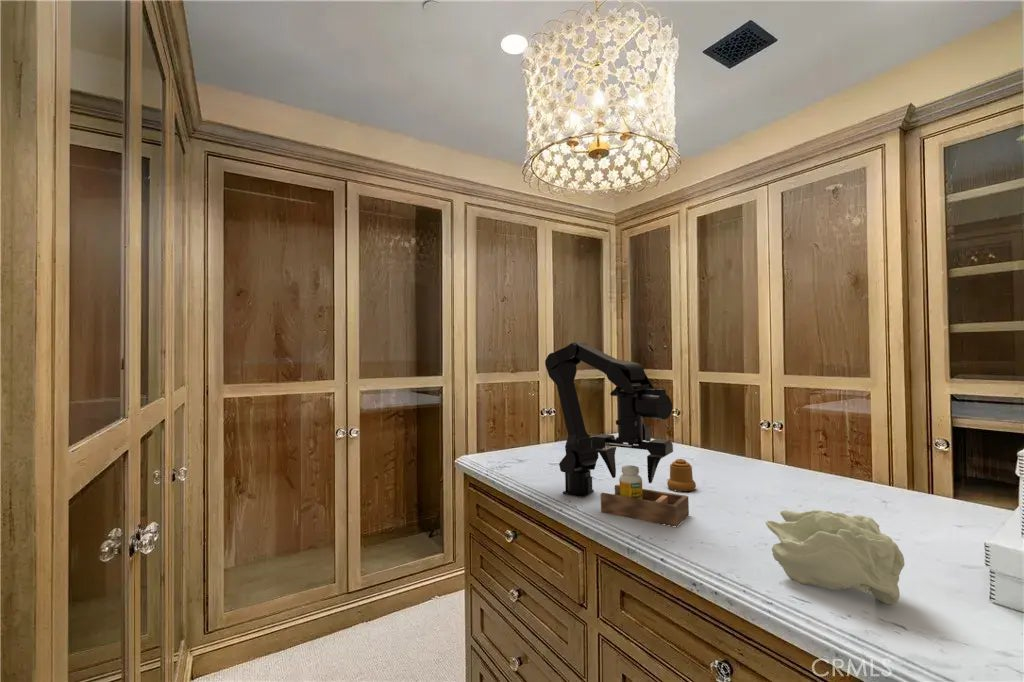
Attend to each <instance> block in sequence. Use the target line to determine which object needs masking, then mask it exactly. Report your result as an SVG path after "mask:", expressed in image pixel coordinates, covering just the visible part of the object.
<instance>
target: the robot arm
mask: <svg viewBox="0 0 1024 682" xmlns="http://www.w3.org/2000/svg"><path fill="white" fill-rule="evenodd" d="M582 362H583V363H585V364H587V365H589V366H590V367H593V369H596V370H598V371H600V372H602V373H603V374H605V375H606V378H607V379H608V380H609V381H610V383H612V384H613V385H614V386H615V388H614V389H613V390H612V391H611V392H610V393H609V394H610V396H613V397H616V399H617V400H616V401H617V403H616V404H617V419H616V420H615V425H617V429H618V430H617V433H618V436H617V437H616V436H615V435H614V434H605V433H600V434H598V435H594V436H590V434H588V432H587V431H586V430H587V429H586V427H585V422H584V417H583V413H582V410H581V406H580V405H581V404H580V401H579V398H578V397H579V396H578V393H577V389H576V384H575V379H576V375H577V371H578V369H577V366H578V365H580V364H581V363H582ZM544 363H545V364H544V365H545V369H546V371H547V375H548V378H550V379H551V380H552V381H553V383H554V384H555V385H556V388H557V392H558V397H559V402H560V405H561V410H562V414H563V418H564V419H563V420H564V423H565V427H566V432H567V439H566V442H565V450H564V451H565V455H564V456H563V458H561V461H560V462H559V464H558V465H559V471H560V472H562V473H564V477H565V478H564V480H565V481H564V482H565V483H564V484H565V490H563V491H562V494H563V495H567V496H573V497H578V498H585V497H587V496H589V495H591V494H592V493H594V492H595V490H594V489H593V477H592V476H591V473H592V472H591V471H592V470H593V471H594V470H595V468H596V464H597V461H598V459H599V455H600V456H601V459H602V460H603V461H604V464H605V465H606V467H607V469H608V472H609V474H610V475H611V477H612V478H613V479H615V478H616V477H617V468H616V450H617V447H618V448H625V449H627V448H628V449H634V450H636V449H637V450H645V451H647V452H648V453H649V454H648V455H647V456H646V460H647V461H646V463H647V466H646V467H647V481H648V484H652V483H653V480H654V478H655V474H656V471H657V468H658V465H659V463H660V462H661V460H662V459H663V458H665V457H666V456H668V455H670V454H672V453H673V452H674V447H673V446H674V445H673V443H672V441H671V440H670V439H662V438H655V439H653V440H651V439H652V428H651V427H649V425H646V424H645V422H646V421H645V418H649V419H656V420H664V421H665V420H667V419H668V418H670V416H671V414H672V411H673V402H672V400H671V397H669V395H668V394H667V390H666V389H665V388H656V389H655V386H654V385H653V384H652V382H651V380H650V378H649V377H648V376H647V374H646V371H645V367H644V366H643V365H642V364H640V363H637V362H635V361H629V360H625V359H624V360H623V359H622V360H621V359H618V358H615V357H612V356H611V355H609V354H607V353H604V352H603V351H600V350H599V349H596V348H595V347H593V346H591V345H589V344H588V343H586V342H584V341H583V342H580V341H579V342H571V343H570V344H568V345H567V346H565V347H563V348H560V349H558V350H556V351H554V352H551V353H549V354H548V355H547V357H546V359H545V360H544Z"/></svg>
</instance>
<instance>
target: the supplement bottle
mask: <svg viewBox="0 0 1024 682" xmlns="http://www.w3.org/2000/svg"><path fill="white" fill-rule="evenodd" d="M621 472H622V474H621V475H619V478H618V479H619V480H618V481H619V485H620V496H626V497H631V498H637V499H643V495H642V489H643V479H642V477H641V476H640V475H639V473H640V469H639V466H636V465H622V466H621Z"/></svg>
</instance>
